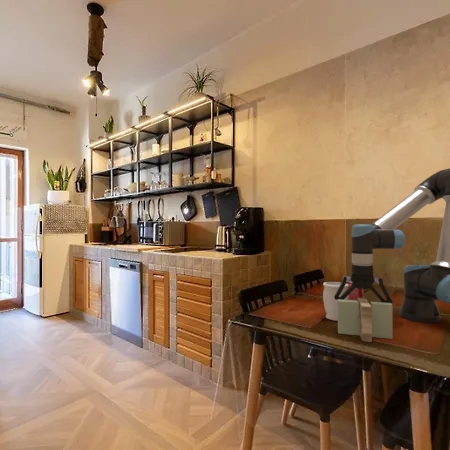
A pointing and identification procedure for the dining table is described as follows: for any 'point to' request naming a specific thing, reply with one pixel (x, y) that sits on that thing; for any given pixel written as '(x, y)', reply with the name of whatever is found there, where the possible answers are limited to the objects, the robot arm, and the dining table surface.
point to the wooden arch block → (365, 319)
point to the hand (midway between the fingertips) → (362, 319)
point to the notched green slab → (352, 322)
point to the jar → (332, 299)
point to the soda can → (355, 293)
